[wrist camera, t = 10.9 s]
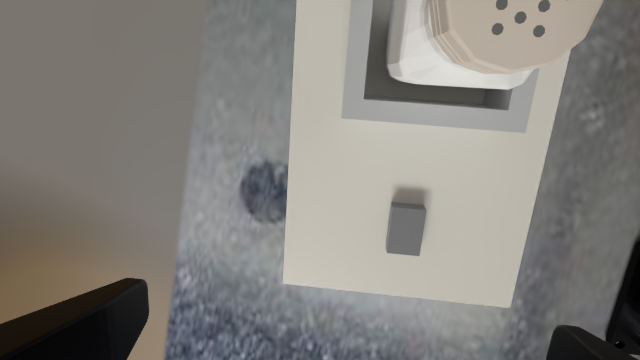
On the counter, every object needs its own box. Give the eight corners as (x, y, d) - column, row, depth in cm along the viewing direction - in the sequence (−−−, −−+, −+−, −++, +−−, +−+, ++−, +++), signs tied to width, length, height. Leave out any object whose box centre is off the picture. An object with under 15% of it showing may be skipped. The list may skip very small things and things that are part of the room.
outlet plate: (502, 297, 21) (536, 347, 17) (286, 274, 22) (271, 317, 18) (588, -79, 16) (661, -126, 12) (304, -93, 17) (290, -141, 13)
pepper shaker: (382, 79, 18) (413, 87, 8) (391, -17, 17) (439, -128, 7) (471, 84, 17) (603, 98, 8) (487, -13, 16) (658, -122, 7)
